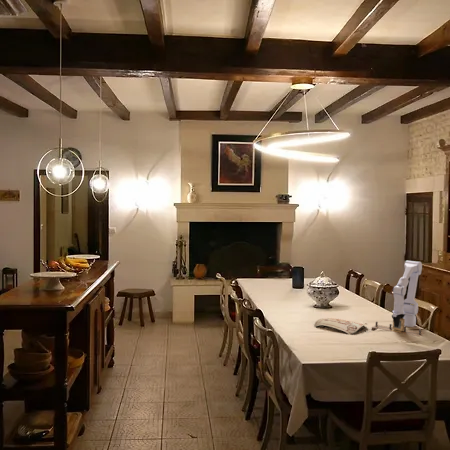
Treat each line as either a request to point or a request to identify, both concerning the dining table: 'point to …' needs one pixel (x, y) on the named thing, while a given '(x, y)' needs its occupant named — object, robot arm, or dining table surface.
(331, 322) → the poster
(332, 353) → the dining table surface
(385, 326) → the peg board
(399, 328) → the light brown rectangular slab
